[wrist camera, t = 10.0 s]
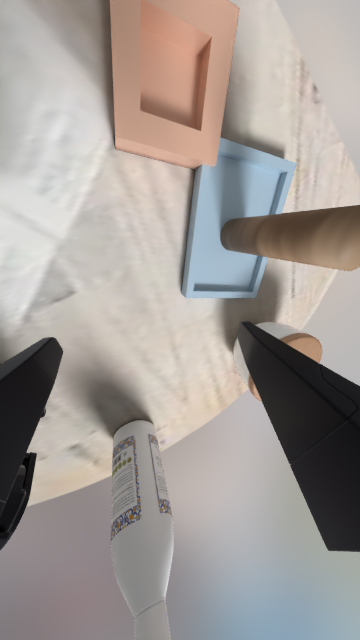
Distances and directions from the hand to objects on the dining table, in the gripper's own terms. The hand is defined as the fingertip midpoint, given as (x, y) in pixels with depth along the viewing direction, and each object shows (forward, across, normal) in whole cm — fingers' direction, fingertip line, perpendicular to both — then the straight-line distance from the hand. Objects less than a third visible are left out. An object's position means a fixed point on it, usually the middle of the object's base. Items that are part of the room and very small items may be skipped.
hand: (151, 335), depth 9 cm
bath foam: (+6, +7, +28) cm, 29 cm away
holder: (+15, -2, -12) cm, 19 cm away
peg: (+14, -9, -1) cm, 16 cm away
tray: (+15, -8, -1) cm, 17 cm away
